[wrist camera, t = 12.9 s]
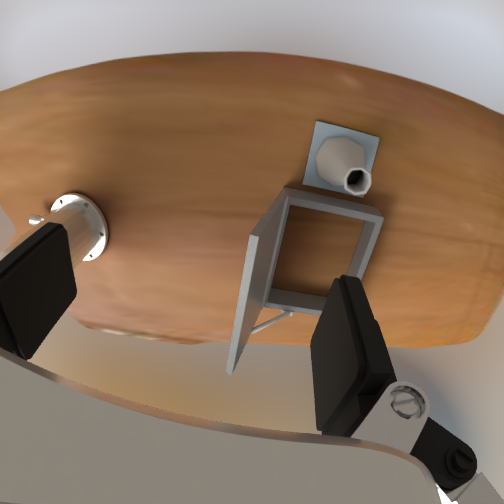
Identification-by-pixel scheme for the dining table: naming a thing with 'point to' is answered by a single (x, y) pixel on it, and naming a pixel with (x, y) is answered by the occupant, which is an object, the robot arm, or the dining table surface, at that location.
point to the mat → (331, 130)
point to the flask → (343, 164)
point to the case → (359, 261)
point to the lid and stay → (256, 280)
